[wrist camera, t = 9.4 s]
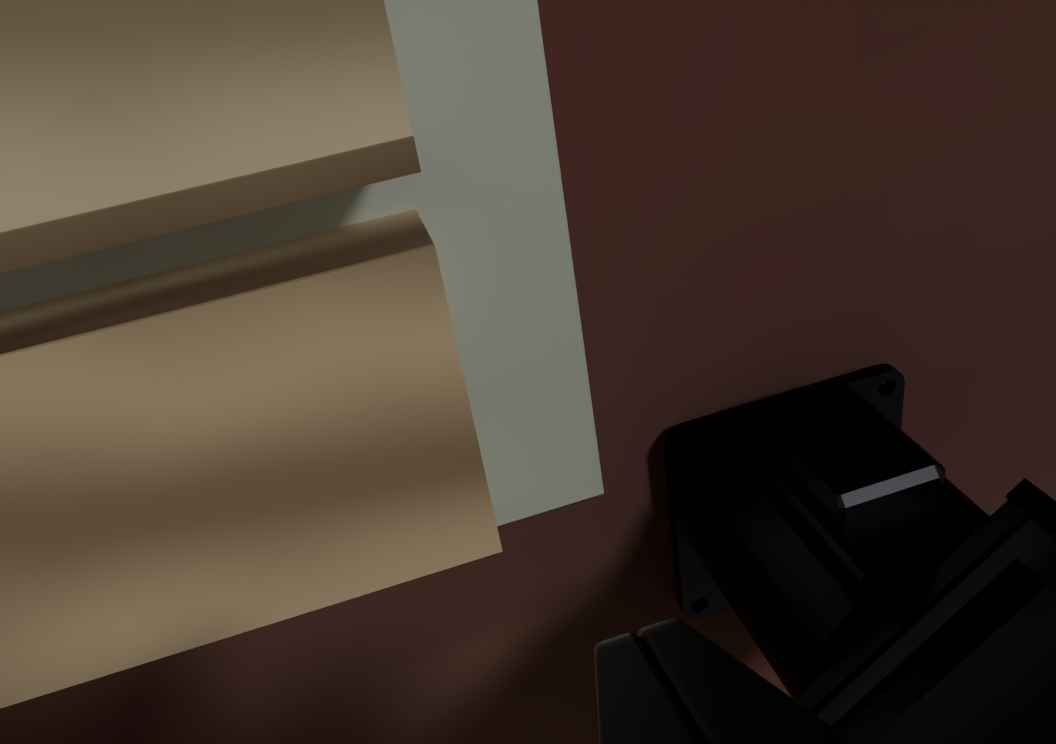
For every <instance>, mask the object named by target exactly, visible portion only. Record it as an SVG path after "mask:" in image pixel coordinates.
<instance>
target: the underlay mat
mask: <svg viewBox="0 0 1056 744" xmlns="http://www.w3.org/2000/svg"><path fill="white" fill-rule="evenodd" d="M384 3H385V8H386V13H387V17H388V22H389V27H390V31H391V36H392V41H393V45H394V50H395V55H396V59H397V64H398V68H399V73H400V78H401V82H402V87H403V92H404V96H405V101H406V106H407V110H408V115H409V120H410V124H411V129H412V134H413V137H414V140H415V145H416V150H417V154H418V159H419V164H420V168H421V172H419V173H415V174H411V175H407V176H402V177H398V178H394V179H390V180H386V181H382V182H378V183H373V184H369V185H365V186H361V187H357V188H353V189H349V190H344V191H340V192H336V193H332V194H328V195H324V196H320V197H315V198H311V199H307V200H303V201H299V202H295V203H291V204H286V205H282V206H278V207H274V208H270V209H266V210H262V211H257V212H253V213H249V214H245V215H241V216H237V217H233V218H228V219H224V220H220V221H216V222H212V223H208V224H204V225H199V226H195V227H191V228H187V229H183V230H179V231H175V232H170V233H166V234H162V235H158V236H154V237H150V238H146V239H141V240H137V241H133V242H129V243H125V244H121V245H117V246H112V247H108V248H104V249H100V250H96V251H92V252H88V253H83V254H79V255H75V256H71V257H67V258H63V259H59V260H54V261H50V262H46V263H42V264H38V265H34V266H30V267H25V268H21V269H17V270H13V271H9V272H5V273H1V274H0V311H4V310H8V309H12V308H16V307H20V306H24V305H28V304H32V303H36V302H40V301H44V300H48V299H52V298H56V297H60V296H64V295H68V294H72V293H76V292H80V291H85V290H89V289H93V288H97V287H101V286H105V285H109V284H113V283H117V282H121V281H125V280H129V279H133V278H137V277H141V276H145V275H149V274H153V273H157V272H161V271H165V270H169V269H173V268H177V267H181V266H185V265H190V264H194V263H198V262H202V261H206V260H210V259H214V258H218V257H222V256H226V255H230V254H234V253H238V252H242V251H246V250H250V249H254V248H258V247H262V246H266V245H270V244H274V243H278V242H282V241H286V240H291V239H295V238H299V237H303V236H307V235H311V234H315V233H319V232H323V231H327V230H331V229H335V228H339V227H343V226H347V225H351V224H355V223H359V222H363V221H367V220H371V219H375V218H379V217H383V216H387V215H392V214H396V213H400V212H404V211H408V210H412V209H416V210H417V212H418V214H419V216H420V218H421V220H422V222H423V224H424V226H425V228H426V230H427V232H428V233H429V235H430V237H431V239H432V241H433V243H434V245H435V248H436V252H437V257H438V262H439V266H440V271H441V275H442V280H443V284H444V289H445V293H446V298H447V302H448V307H449V311H450V316H451V320H452V325H453V330H454V334H455V339H456V343H457V348H458V352H459V357H460V361H461V366H462V370H463V375H464V379H465V384H466V388H467V393H468V398H469V402H470V407H471V411H472V416H473V420H474V425H475V429H476V434H477V438H478V443H479V447H480V452H481V457H482V461H483V466H484V470H485V475H486V479H487V484H488V488H489V493H490V497H491V502H492V506H493V511H494V515H495V520H496V524H497V526H499V525H503V524H506V523H509V522H512V521H516V520H519V519H522V518H525V517H529V516H532V515H535V514H538V513H542V512H545V511H548V510H551V509H555V508H558V507H561V506H564V505H568V504H571V503H574V502H577V501H581V500H584V499H587V498H590V497H594V496H597V495H600V494H603V493H604V491H603V483H602V476H601V469H600V461H599V454H598V446H597V439H596V432H595V424H594V417H593V410H592V402H591V395H590V387H589V380H588V373H587V365H586V358H585V350H584V343H583V336H582V328H581V321H580V314H579V306H578V299H577V291H576V284H575V277H574V269H573V262H572V255H571V247H570V240H569V232H568V225H567V218H566V210H565V203H564V196H563V188H562V181H561V173H560V166H559V159H558V151H557V144H556V137H555V129H554V122H553V114H552V107H551V100H550V92H549V85H548V78H547V70H546V63H545V55H544V48H543V41H542V33H541V26H540V19H539V11H538V4H537V0H384Z"/></svg>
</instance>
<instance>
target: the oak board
mask: <svg viewBox="0 0 1056 744" xmlns="http://www.w3.org/2000/svg"><path fill="white" fill-rule="evenodd" d="M499 552H502V547H501V543H500V538H499V534H498V529H497V524H496V520H495V515H494V511H493V506H492V502H491V497H490V493H489V488H488V484H487V479H486V475H485V470H484V466H483V461H482V457H481V452H480V447H479V443H478V438H477V434H476V429H475V425H474V420H473V416H472V411H471V407H470V402H469V398H468V393H467V388H466V384H465V379H464V375H463V370H462V366H461V361H460V357H459V352H458V348H457V343H456V339H455V334H454V330H453V325H452V320H451V316H450V311H449V307H448V302H447V298H446V293H445V289H444V284H443V280H442V275H441V271H440V266H439V262H438V257H437V252H436V248H435V245H434V243H433V241H432V239H431V237H430V235H429V233H428V232H427V230H426V228H425V226H424V224H423V222H422V220H421V218H420V216H419V214H418V212H417V210H416V209H412V210H408V211H404V212H400V213H396V214H392V215H387V216H383V217H379V218H375V219H371V220H367V221H363V222H359V223H355V224H351V225H347V226H343V227H339V228H335V229H331V230H327V231H323V232H319V233H315V234H311V235H307V236H303V237H299V238H295V239H291V240H286V241H282V242H278V243H274V244H270V245H266V246H262V247H258V248H254V249H250V250H246V251H242V252H238V253H234V254H230V255H226V256H222V257H218V258H214V259H210V260H206V261H202V262H198V263H194V264H190V265H185V266H181V267H177V268H173V269H169V270H165V271H161V272H157V273H153V274H149V275H145V276H141V277H137V278H133V279H129V280H125V281H121V282H117V283H113V284H109V285H105V286H101V287H97V288H93V289H89V290H85V291H80V292H76V293H72V294H68V295H64V296H60V297H56V298H52V299H48V300H44V301H40V302H36V303H32V304H28V305H24V306H20V307H16V308H12V309H8V310H4V311H0V708H4V707H7V706H10V705H13V704H16V703H20V702H23V701H26V700H29V699H32V698H36V697H39V696H42V695H45V694H48V693H52V692H55V691H58V690H61V689H64V688H68V687H71V686H74V685H77V684H80V683H83V682H87V681H90V680H93V679H96V678H99V677H103V676H106V675H109V674H112V673H115V672H119V671H122V670H125V669H128V668H131V667H135V666H138V665H141V664H144V663H147V662H151V661H154V660H157V659H160V658H163V657H167V656H170V655H173V654H176V653H179V652H183V651H186V650H189V649H192V648H195V647H199V646H202V645H205V644H208V643H211V642H215V641H218V640H221V639H224V638H227V637H231V636H234V635H237V634H240V633H243V632H246V631H250V630H253V629H256V628H259V627H262V626H266V625H269V624H272V623H275V622H278V621H282V620H285V619H288V618H291V617H294V616H298V615H301V614H304V613H307V612H310V611H314V610H317V609H320V608H323V607H326V606H330V605H333V604H336V603H339V602H342V601H346V600H349V599H352V598H355V597H358V596H362V595H365V594H368V593H371V592H374V591H378V590H381V589H384V588H387V587H390V586H393V585H397V584H400V583H403V582H406V581H409V580H413V579H416V578H419V577H422V576H425V575H429V574H432V573H435V572H438V571H441V570H445V569H448V568H451V567H454V566H457V565H461V564H464V563H467V562H470V561H473V560H477V559H480V558H483V557H486V556H489V555H493V554H496V553H499Z"/></svg>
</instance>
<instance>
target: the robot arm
mask: <svg viewBox="0 0 1056 744" xmlns="http://www.w3.org/2000/svg"><path fill="white" fill-rule="evenodd" d="M884 381H886V382H885V383H884V385H883V386H882V387H880V385H881V384H882V383H883V382H884ZM904 385H905V381H904V376H903V375H902V374H901V373H900V372H899V371H898V370H896V369H895V368H894V367H893V366H891V365H889V364H886V363H885V364H878V365H875V366H872V367H868V368H865V369H862V370H858V371H855V372H851V373H848V374H845V375H841V376H838V377H835V378H831V379H828V380H825V381H821V382H818V383H815V384H811V385H808V386H805V387H801V388H798V389H795V390H791V391H788V392H785V393H781V394H778V395H775V396H771V397H768V398H765V399H761V400H758V401H755V402H751V403H748V404H745V405H741V406H738V407H735V408H731V409H728V410H725V411H721V412H718V413H715V414H711V415H708V416H705V417H701V418H698V419H695V420H691V421H688V422H685V423H681V424H679V425H677V426H675V427H673V428H672V429H671V430H670V431H669V432H668V434H667V435H666V437H665V440H664V453H665V465H666V476H667V487H668V499H669V510H670V522H671V533H672V544H673V556H674V567H675V579H676V590H677V601H678V604H679V606H680V608H681V609H682V611H683V613H684V614H685V615H686V616H687V617H688V618H692V619H697V618H702V617H704V616H707V615H710V614H713V613H716V612H719V611H722V610H725V609H728V608H731V607H732V608H733V610H734V611H735V613H736V614H737V616H738V617H739V619H740V620H741V622H742V623H743V625H744V626H745V628H746V629H747V631H748V632H749V634H750V635H751V637H752V638H753V640H754V641H755V643H756V644H757V646H758V647H759V649H760V650H761V652H762V653H763V655H764V656H765V658H766V659H767V661H768V662H769V664H770V665H771V667H772V668H773V670H774V671H775V673H776V674H777V676H778V677H779V679H780V681H781V682H782V684H783V685H784V687H785V688H786V690H787V691H788V693H789V694H790V696H791V697H792V698H791V697H790V696H788V695H787V694H785V693H784V692H782V691H781V690H780V689H778V688H777V687H775V686H774V685H773V684H771V683H770V682H768V681H767V680H766V679H764V678H763V677H761V676H760V675H759V674H757V673H756V672H754V671H753V670H752V669H750V668H749V667H747V666H746V665H745V664H743V663H742V662H740V661H739V660H738V659H736V658H735V657H733V656H732V655H731V654H729V653H728V652H726V651H725V650H723V649H722V648H721V647H719V646H718V645H716V644H715V643H714V642H712V641H711V640H709V639H708V638H707V637H705V636H704V635H702V634H701V633H700V632H698V631H697V630H695V629H694V628H693V627H691V626H690V625H688V624H687V623H686V622H684V621H682V620H680V619H676V618H671V619H667V620H664V621H661V622H658V623H655V624H652V625H649V626H646V627H643V628H641V629H640V630H639V631H638V632H637V636H636V635H635V634H634V633H625V634H622V635H619V636H616V637H613V638H610V639H607V640H604V641H601V642H599V643H597V644H596V645H595V648H594V665H595V684H596V704H597V723H598V743H599V744H1056V501H1055V500H1054V499H1052V498H1051V497H1049V496H1048V495H1047V494H1045V493H1044V492H1043V491H1041V490H1040V489H1039V488H1037V487H1036V486H1035V485H1033V484H1032V483H1031V482H1029V481H1028V480H1027V479H1025V478H1024V479H1023V480H1022V481H1021V482H1020V483H1019V484H1018V485H1017V486H1016V487H1015V488H1013V489H1012V490H1011V491H1010V492H1009V493H1008V494H1007V495H1006V496H1005V497H1006V498H1007V499H1008V500H1007V501H1006V502H1005V503H1004V504H1003V505H1002V506H1001V507H1000V508H999V509H998V510H997V511H996V512H995V513H993V514H992V515H991V516H989V515H988V514H987V513H985V512H984V511H983V510H982V509H981V508H980V507H979V506H977V505H976V504H975V503H974V502H973V501H972V500H971V499H970V498H968V497H967V496H966V495H965V494H964V493H963V492H962V491H961V490H959V489H958V488H957V487H956V486H955V485H954V484H953V483H951V482H950V481H949V480H948V479H947V478H946V477H945V469H944V467H943V465H941V464H940V463H939V462H938V461H937V460H936V459H934V458H933V457H932V456H931V455H930V454H929V453H928V452H926V451H925V450H924V449H923V448H922V447H921V446H920V445H918V444H917V443H916V442H915V441H914V440H913V439H912V438H910V437H909V436H908V435H907V434H906V433H905V432H903V431H902V430H901V422H902V409H903V397H904ZM879 387H880V388H879ZM688 440H691V442H690V443H689V444H688V445H687V446H686V447H684V448H680V447H681V445H682V444H683V443H684V442H686V441H688ZM698 599H699V600H698ZM696 600H697V601H696Z"/></svg>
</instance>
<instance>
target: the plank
mask: <svg viewBox="0 0 1056 744" xmlns="http://www.w3.org/2000/svg"><path fill="white" fill-rule="evenodd" d="M419 172H421V168H420V164H419V159H418V154H417V150H416V145H415V140H414V137H413V134H412V129H411V124H410V120H409V115H408V110H407V106H406V101H405V96H404V92H403V87H402V82H401V78H400V73H399V68H398V64H397V59H396V55H395V50H394V45H393V41H392V36H391V31H390V27H389V22H388V17H387V13H386V8H385V3H384V0H0V274H1V273H5V272H9V271H13V270H17V269H21V268H25V267H30V266H34V265H38V264H42V263H46V262H50V261H54V260H59V259H63V258H67V257H71V256H75V255H79V254H83V253H88V252H92V251H96V250H100V249H104V248H108V247H112V246H117V245H121V244H125V243H129V242H133V241H137V240H141V239H146V238H150V237H154V236H158V235H162V234H166V233H170V232H175V231H179V230H183V229H187V228H191V227H195V226H199V225H204V224H208V223H212V222H216V221H220V220H224V219H228V218H233V217H237V216H241V215H245V214H249V213H253V212H257V211H262V210H266V209H270V208H274V207H278V206H282V205H286V204H291V203H295V202H299V201H303V200H307V199H311V198H315V197H320V196H324V195H328V194H332V193H336V192H340V191H344V190H349V189H353V188H357V187H361V186H365V185H369V184H373V183H378V182H382V181H386V180H390V179H394V178H398V177H402V176H407V175H411V174H415V173H419Z"/></svg>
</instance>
